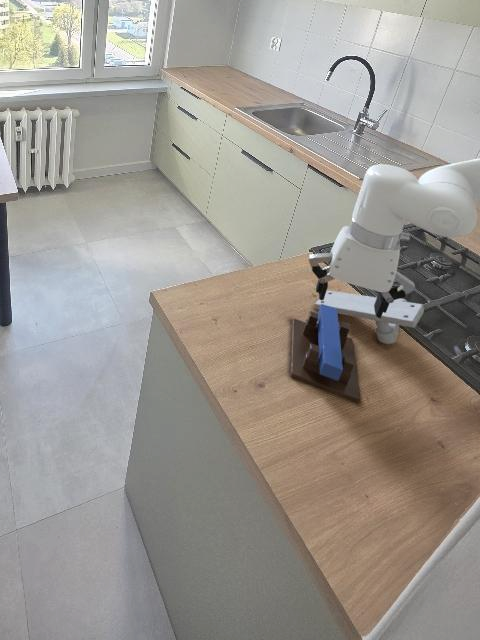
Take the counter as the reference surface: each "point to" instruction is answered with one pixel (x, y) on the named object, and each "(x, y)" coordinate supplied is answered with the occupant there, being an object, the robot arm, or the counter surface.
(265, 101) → the counter surface
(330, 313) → the blue bar
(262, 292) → the counter surface
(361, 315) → the door handle
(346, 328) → the holder
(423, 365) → the counter surface
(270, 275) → the counter surface
